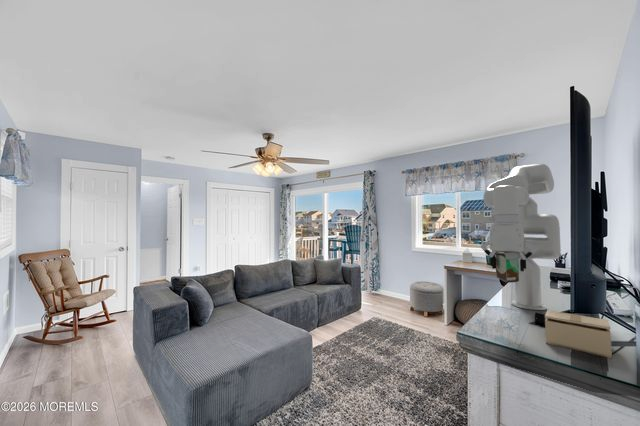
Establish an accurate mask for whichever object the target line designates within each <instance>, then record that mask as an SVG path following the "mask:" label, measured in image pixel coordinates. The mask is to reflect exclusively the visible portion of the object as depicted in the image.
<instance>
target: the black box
mask: <svg viewBox="0 0 640 426" xmlns="http://www.w3.org/2000/svg"><path fill="white" fill-rule="evenodd" d="M546 312H547V311H546ZM546 312H545V311H543V310H536V311H535V312H534V320H533V321H531V322H528V325H529V324H530V325H533V326H536V327H539V328H544V329H545V319H546V318H545V315H546Z"/></svg>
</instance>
